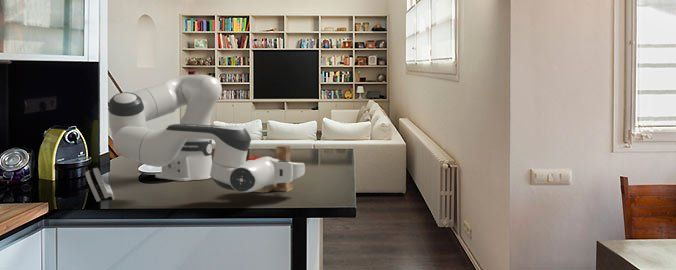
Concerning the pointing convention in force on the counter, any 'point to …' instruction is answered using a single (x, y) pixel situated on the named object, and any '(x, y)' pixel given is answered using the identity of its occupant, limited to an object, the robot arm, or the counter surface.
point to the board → (266, 188)
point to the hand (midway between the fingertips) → (283, 164)
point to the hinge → (98, 185)
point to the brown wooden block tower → (283, 155)
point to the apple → (253, 157)
